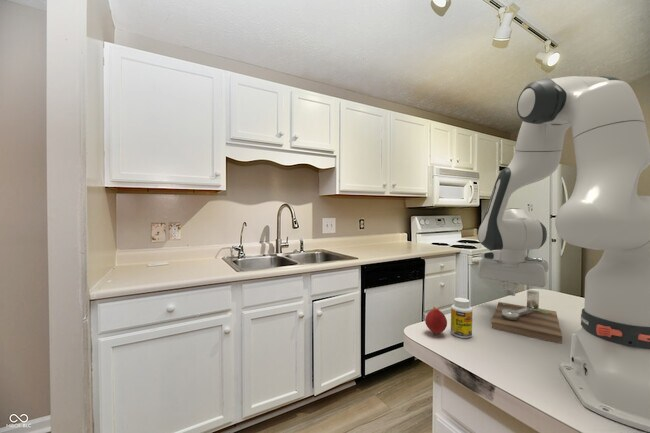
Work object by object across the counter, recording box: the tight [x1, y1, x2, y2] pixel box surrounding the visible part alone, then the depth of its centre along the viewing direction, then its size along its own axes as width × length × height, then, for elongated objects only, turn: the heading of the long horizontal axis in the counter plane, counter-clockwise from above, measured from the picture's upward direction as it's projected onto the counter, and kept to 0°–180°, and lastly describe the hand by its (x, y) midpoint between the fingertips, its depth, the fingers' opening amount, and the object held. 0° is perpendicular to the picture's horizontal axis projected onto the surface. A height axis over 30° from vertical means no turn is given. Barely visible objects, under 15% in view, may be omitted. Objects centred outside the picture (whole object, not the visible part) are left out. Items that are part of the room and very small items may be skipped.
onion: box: [424, 306, 448, 335], centre depth 82 cm, size 6×6×8 cm
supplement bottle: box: [450, 297, 473, 339], centre depth 82 cm, size 6×6×10 cm
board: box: [490, 301, 563, 344], centre depth 91 cm, size 23×16×2 cm
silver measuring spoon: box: [502, 289, 540, 320], centre depth 91 cm, size 17×4×6 cm, turn 118°
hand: (509, 294), depth 99 cm, fingers closed
